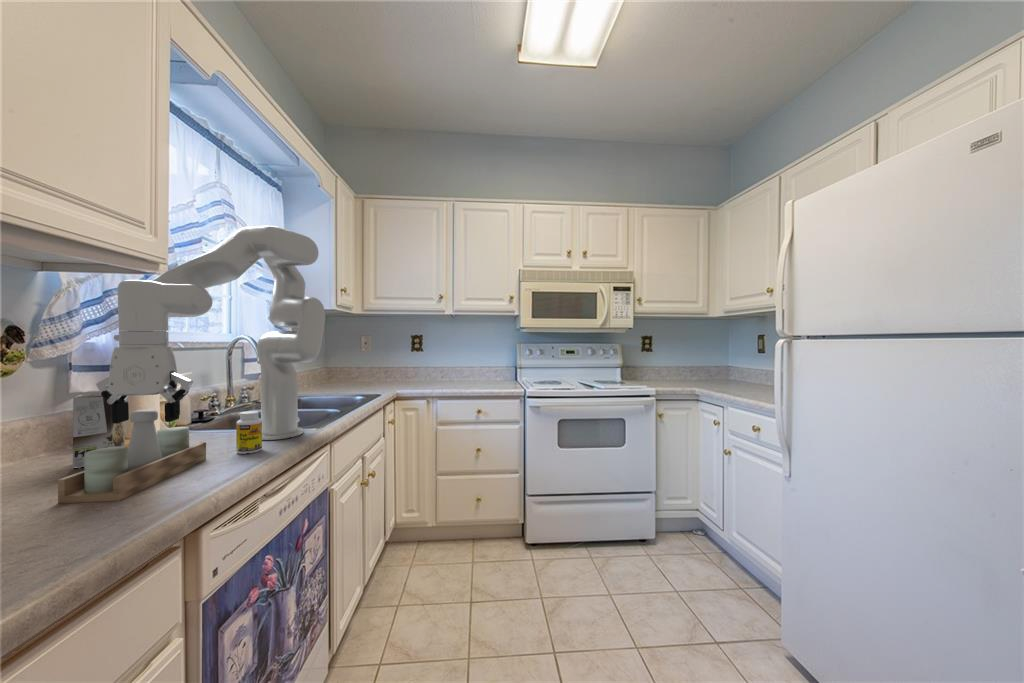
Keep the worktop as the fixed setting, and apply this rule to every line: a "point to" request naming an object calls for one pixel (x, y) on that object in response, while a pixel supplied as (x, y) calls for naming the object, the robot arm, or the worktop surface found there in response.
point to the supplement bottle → (249, 433)
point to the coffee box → (94, 426)
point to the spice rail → (132, 477)
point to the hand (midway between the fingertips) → (146, 421)
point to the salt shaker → (143, 439)
